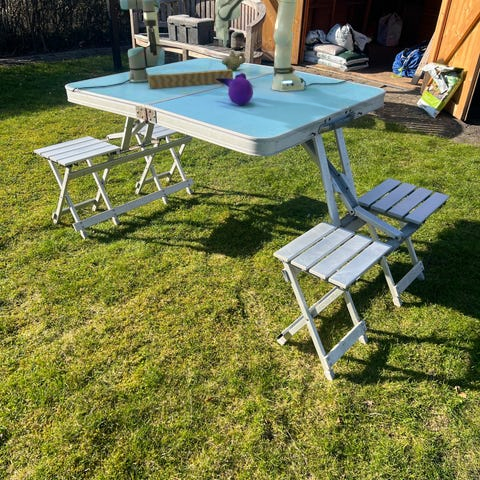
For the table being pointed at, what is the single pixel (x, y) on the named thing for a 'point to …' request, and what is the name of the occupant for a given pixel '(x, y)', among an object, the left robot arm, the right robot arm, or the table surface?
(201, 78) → the bar
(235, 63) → the teapot
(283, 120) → the table surface
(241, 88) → the toy
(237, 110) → the table surface
